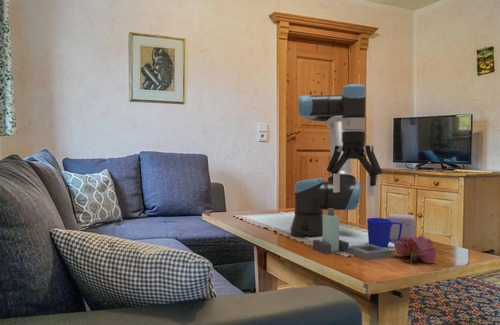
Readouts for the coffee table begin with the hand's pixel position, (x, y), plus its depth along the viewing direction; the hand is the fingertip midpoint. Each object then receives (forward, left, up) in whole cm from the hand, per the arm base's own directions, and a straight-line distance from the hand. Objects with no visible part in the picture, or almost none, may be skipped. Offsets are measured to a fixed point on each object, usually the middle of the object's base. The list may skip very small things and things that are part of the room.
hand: (352, 194), depth 133 cm
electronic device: (-9, +30, -20) cm, 38 cm away
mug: (-3, +16, -20) cm, 26 cm away
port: (+5, +2, -20) cm, 21 cm away
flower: (+15, +12, -20) cm, 28 cm away
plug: (-5, -6, -20) cm, 21 cm away
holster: (-5, -6, -20) cm, 21 cm away
